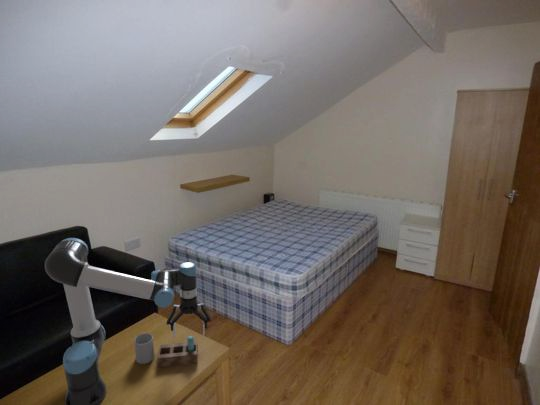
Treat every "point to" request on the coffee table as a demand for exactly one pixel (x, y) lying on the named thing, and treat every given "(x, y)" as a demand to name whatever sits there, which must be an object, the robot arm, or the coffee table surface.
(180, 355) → the hole block
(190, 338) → the peg
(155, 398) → the coffee table surface
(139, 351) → the mug
